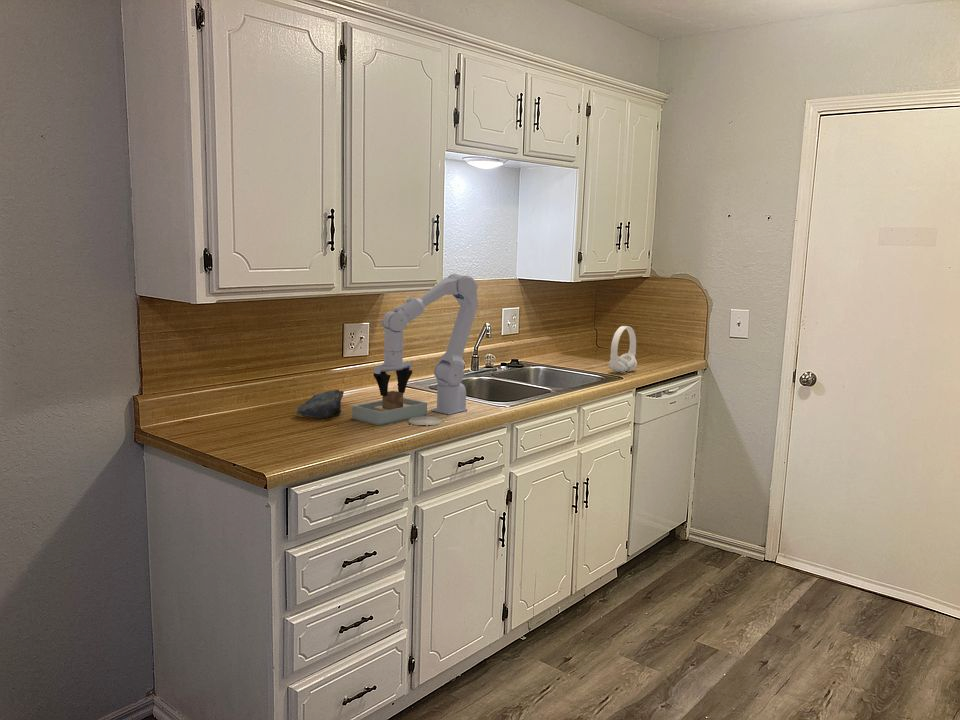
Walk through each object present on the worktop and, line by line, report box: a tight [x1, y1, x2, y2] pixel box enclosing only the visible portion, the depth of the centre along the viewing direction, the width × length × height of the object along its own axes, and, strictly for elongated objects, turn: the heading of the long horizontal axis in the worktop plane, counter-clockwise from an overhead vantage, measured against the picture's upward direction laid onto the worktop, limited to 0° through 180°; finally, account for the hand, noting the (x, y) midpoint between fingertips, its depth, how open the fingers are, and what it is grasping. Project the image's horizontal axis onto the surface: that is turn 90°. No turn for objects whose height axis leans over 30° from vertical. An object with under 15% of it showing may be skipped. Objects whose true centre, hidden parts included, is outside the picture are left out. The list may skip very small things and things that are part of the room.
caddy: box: [351, 397, 428, 427], centre depth 241 cm, size 20×12×4 cm, turn 141°
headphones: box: [607, 325, 638, 374], centre depth 333 cm, size 8×19×20 cm, turn 143°
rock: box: [295, 389, 345, 419], centre depth 239 cm, size 16×8×10 cm
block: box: [382, 390, 404, 410], centre depth 241 cm, size 4×4×5 cm
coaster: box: [408, 415, 443, 427], centre depth 236 cm, size 10×10×1 cm
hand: (392, 394), depth 241 cm, fingers open, 7 cm apart
